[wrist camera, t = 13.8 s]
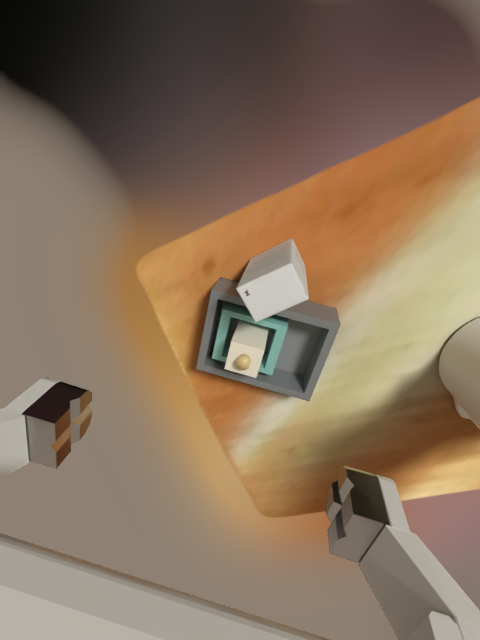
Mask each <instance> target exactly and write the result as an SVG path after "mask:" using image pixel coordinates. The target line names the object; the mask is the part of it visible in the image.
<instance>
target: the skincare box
mask: <svg viewBox="0 0 480 640" xmlns="http://www.w3.org/2000/svg"><path fill="white" fill-rule="evenodd" d="M236 290H237V292H238V293H239V295H240V297H241V298H242V300H243V302H244V303H245V305H246V307H247V309H248V310H249V312H250V314H251V315H252V317H253V319H254V321H255V322H258V321H261V320H263V319H265V318H268V317H270V316H272V315H275V314H277V313H279V312H281V311H283V310H286V309H288V308H290V307H292V306H295V305H297V304H299V303H301V302H304V301H306V300H308V299H309V296H308V288H307V279H306V270H305V265H304V263H303V261H302V258H301V256H300V254H299V252H298V250H297V247H296V245H295V243H294V241H293V239H292V238H291V239H289V240H287V241H285V242H283V243H281V244H279V245H277V246H275V247H273V248H271V249H269V250H267V251H265V252H263V253H261V254H259V255H257V256H255V257H253V258H251V259H250V261H249V263H248V265H247V267H246V269H245V271H244V273H243V275H242V278H241V280H240V282H239V284H238V286H237V288H236Z"/></svg>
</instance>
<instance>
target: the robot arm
mask: <svg viewBox="0 0 480 640" xmlns="http://www.w3.org/2000/svg"><path fill="white" fill-rule="evenodd" d="M439 374H440V378H441V380H442V383H443V384H444V386H445V387H446V389H447V390H448V391H449V392H450V393H451V395H452V396H453V398H454V404H455V408H456V411H457V412H458V413H459V414H460V416H461V417H463V418H465V419H471V420H472V421H473V422H474V424H475V425H476V426H477V427H478V428H479V429H480V317H479V318H477V319H475V320H473V321H471V322H469V323H468V324H466V325H465V326H463V327H462V328H461V329H459V330H458V331H457V332H456V333H455V334H454V335H453V336H452V337H451V338H450V340H449V341H448V342H447V344H446V345H445V347H444V349H443V351H442V353H441V356H440V360H439ZM91 401H92V392H90V391H89V390H86V389H83V388H79V387H77V386H73V385H70V384H67V383H64V382H60V381H57V380H54V379H51V378H48V377H45V378H42V379H40V380H39V381H38V382H36V383H35V384H34V385H32V386H31V387H30V388H29V389H27V390H26V391H25V392H24V393H23V394H21V395H20V396H19V397H18V398H16V399H15V400H14V401H13V402H11V403H10V404H9V405H8V406H6V407H5V408H4V409H1V408H0V478H2V477H4V476H6V475H7V474H9V473H11V472H13V471H15V470H17V469H19V468H20V467H22V466H24V465H26V464H27V463H29V461H31V462H35V463H38V464H42V465H45V466H49V467H53V468H56V469H57V467H58V466H59V465H60V464H61V463H62V461H63V460H64V459H65V458H66V456H67V455H68V454H69V453H70V452H71V444H72V443H74V442H77V441H79V440H80V439H81V438H82V437H83V435H84V434H85V432H86V430H87V428H88V427H89V425H90V421H91V417H92V411H91V409H90V408H89V406H88V405H89V403H90V402H91ZM337 478H338V480H337V481H335V482H333V483H332V484H331V486H330V488H329V490H328V494H327V499H326V515H327V517H328V518H329V520H330V521H331V525H330V527H329V529H328V539H329V550H330V553H331V554H333V555H336V556H339V557H342V558H346V559H348V560H351V561H354V562H357V563H359V566H360V568H361V570H362V572H363V574H364V576H365V578H366V580H367V582H368V583H369V585H370V587H371V589H372V591H373V593H374V595H375V596H376V598H377V600H378V602H379V604H380V606H381V608H382V610H383V611H384V613H385V615H386V617H387V619H388V621H389V623H390V624H391V626H392V628H393V630H394V632H395V634H396V636H397V638H398V639H399V640H480V611H479V610H478V608H477V607H476V606H475V605H474V604H473V603H472V601H471V600H470V599H469V598H468V596H467V595H466V594H465V593H464V592H463V590H462V589H461V588H460V587H459V586H458V584H457V583H456V582H455V581H454V579H453V578H452V577H451V576H450V575H449V573H448V572H447V571H446V570H445V569H444V568H443V566H442V565H441V564H440V563H439V562H438V560H437V559H436V558H435V557H434V556H433V554H432V553H431V552H430V551H429V549H428V548H427V547H426V546H425V545H424V544H423V542H422V541H421V540H420V539H419V537H418V536H417V535H416V534H414V533H411V532H410V529H409V526H408V523H407V519H406V516H405V513H404V510H403V507H402V504H401V500H400V497H399V494H398V491H397V488H396V485H395V482H394V481H393V480H392V479H390V478H386V477H383V476H379V475H374V474H372V473H368V472H365V471H361V470H358V469H354V468H351V467H347V466H344V465H343V466H341V467H340V469H339V470H338V472H337ZM0 640H329V639H326V638H323V637H320V636H317V635H314V634H311V633H308V632H305V631H302V630H298V629H295V628H292V627H289V626H286V625H283V624H280V623H277V622H274V621H271V620H268V619H265V618H262V617H259V616H255V615H252V614H249V613H246V612H243V611H240V610H237V609H234V608H231V607H227V606H225V605H221V604H218V603H215V602H212V601H209V600H206V599H203V598H200V597H197V596H194V595H191V594H188V593H184V592H181V591H178V590H175V589H172V588H169V587H166V586H163V585H159V584H156V583H153V582H150V581H147V580H144V579H141V578H138V577H135V576H132V575H129V574H125V573H122V572H119V571H116V570H113V569H110V568H107V567H103V566H101V565H98V564H94V563H91V562H88V561H85V560H82V559H79V558H76V557H73V556H70V555H67V554H63V553H60V552H57V551H54V550H51V549H48V548H45V547H42V546H39V545H36V544H33V543H29V542H26V541H23V540H20V539H17V538H14V537H11V536H8V535H5V534H2V533H0Z"/></svg>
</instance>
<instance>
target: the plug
mask: <svg viewBox="0 0 480 640" xmlns="http://www.w3.org/2000/svg"><path fill="white" fill-rule="evenodd" d="M268 330H269V327H265V326H262V325H258V324H254V323H251V322H247V321H244V320H239V323H238V325H237V328H236V330H235V333H234V335H233V338H232V340H231V344H230V348H229V352H228V356H227V360H226V364H225V368H224V369H226V370H230V371H233V372H237V373H240V374H244V375H247V376H251V377H254V378H256V377H257V374H258V371H259V367H260V364H261V361H262V357H263V354H264V351H265V346H266V340H267V335H268Z"/></svg>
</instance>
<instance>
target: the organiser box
mask: <svg viewBox="0 0 480 640" xmlns="http://www.w3.org/2000/svg"><path fill="white" fill-rule="evenodd" d="M238 284H239V282H236V281H233V280H229V279H225V278H221V277H220V278H219V280H218V281H217V283H216V284H215V285H214V287H213V288H212V289H211V295H210V300H209V305H208V310H207V315H206V320H205V325H204V330H203V335H202V341H201V346H200V351H199V356H198V361H197V366H196V369H198V370H201V371H205V372H208V373H212V374H215V375H219V376H222V377H226V378H229V379H233V380H236V381H240V382H243V383H247V384H250V385H254V386H257V387H261V388H264V389H268V390H271V391H275V392H278V393H282V394H285V395H289V396H292V397H296V398H299V399H303V400H306V401H310V398H311V396H312V393H313V391H314V388H315V386H316V383H317V381H318V378H319V376H320V374H321V371H322V369H323V366H324V364H325V361H326V359H327V356H328V354H329V351H330V349H331V346H332V344H333V342H334V339H335V337H336V334H337V332H338V329H339V327H340V321H339V317H338V313H337V310H336V308H333V307H329V306H325V305H321V304H318V303H314V302H310V301H307V300H306V301H304V302H301V303H299V304H297V305H295V306H292V307H290V308H288V309H286V310H283V311H281V312H279V313H277V314H275V315H278V316H282V317H286V318H288V328H287V331H286V334H285V337H284V340H283V343H282V347H281V350H280V353H279V356H278V359H277V362H276V365H275V368H274V371H273V374H272V375H269V374H265V373H262V372H258V374H257V377H256V378H254V377H251V376H247V375H244V374H240V373H237V372H233V371H230V370H226V369H224V368H225V364H226V362H223V361H219V360H216V359H212V355H213V350H214V346H215V341H216V337H217V332H218V327H219V323H220V318H221V314H222V309H223V307H224V305H225V304H226V302H231V303H234V304H238V305H242V306H245V307H246V305H245V303H244V302H243V300H242V298H241V297H240V295H239V293H238V292H237V290H236V288H237V286H238ZM239 320H240V319H236V318H233V320H232V324H231V328H230V333H229V337H228V341H227V342H229V343H231V340H232V338H233V335H234V333H235V330H236V328H237V325H238V323H239ZM274 330H275V329H272V328H269V330H268V335H267V340H266V346H265V351H264V352H265V353H268V350H269V346H270V343H271V340H272V337H273V333H274Z"/></svg>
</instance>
